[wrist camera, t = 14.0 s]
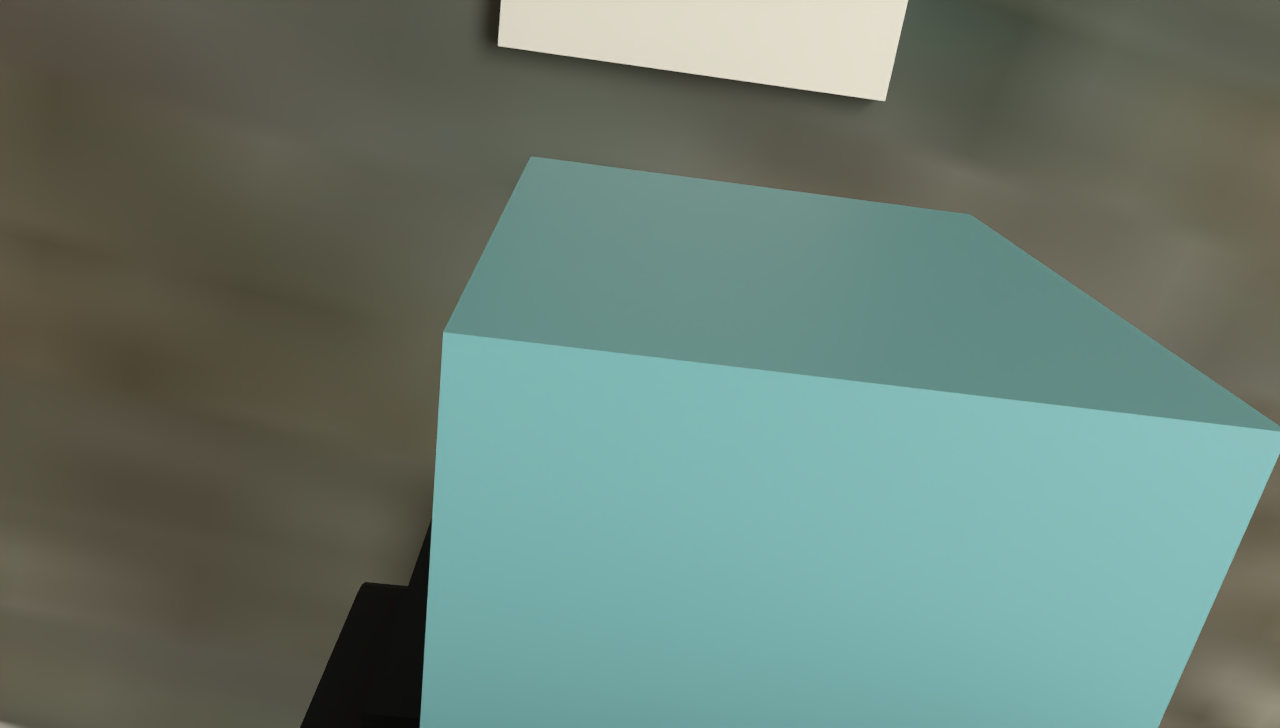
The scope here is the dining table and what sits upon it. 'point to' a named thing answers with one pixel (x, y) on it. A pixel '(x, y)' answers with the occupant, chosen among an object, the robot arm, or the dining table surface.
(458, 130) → the dining table surface
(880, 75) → the tile
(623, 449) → the teal block
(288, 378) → the dining table surface
